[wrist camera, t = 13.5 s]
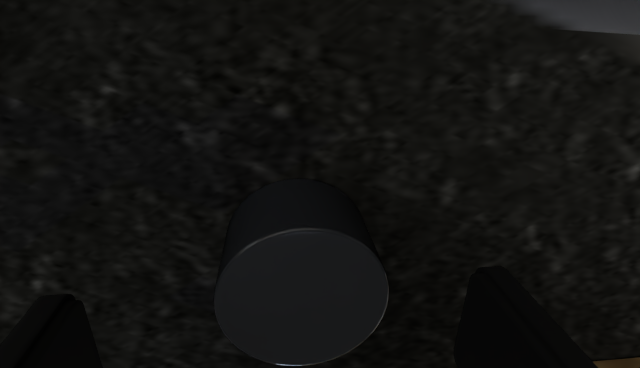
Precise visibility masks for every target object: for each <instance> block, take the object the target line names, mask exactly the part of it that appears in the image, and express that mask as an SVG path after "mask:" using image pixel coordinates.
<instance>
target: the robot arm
mask: <svg viewBox="0 0 640 368" xmlns="http://www.w3.org/2000/svg"><path fill="white" fill-rule="evenodd" d="M454 358H455V362H456V364H457V366H458V368H598V367H597V366H596V365H595V364H594V363H593V361H592V360H591V359H590V358H589V357H588V356H587V355H586V354H585V353H584V352H583V351H582V350H581V349H580V348H579V346H578V345H577V344H576V343H575V342H574V341H573V340H572V339H571V338H570V337H569V336H568V335H567V334H566V333H565V331H564V330H563V329H562V328H561V327H560V326H559V325H558V324H557V323H556V322H555V321H554V320H553V319H552V318H551V316H550V315H549V314H548V313H547V312H546V311H545V310H544V309H543V308H542V307H541V306H540V305H539V304H538V303H537V301H536V300H535V299H534V298H533V297H532V296H531V295H530V294H529V293H528V292H527V291H526V290H525V289H524V288H523V286H522V285H521V284H520V283H519V282H518V281H517V280H516V279H515V278H514V277H513V276H512V275H511V274H510V273H509V271H508V270H507V269H505V268H504V267H502V266H494V267H481V268H478V269H477V270H476V273H475V274H472V275H471V277H470V280H469V285H468V289H467V293H466V298H465V302H464V307H463V311H462V315H461V320H460V324H459V329H458V333H457V338H456V342H455V346H454ZM0 368H103V367H102V364H101V361H100V357H99V354H98V351H97V348H96V344H95V341H94V338H93V334H92V331H91V328H90V324H89V321H88V318H87V315H86V311H85V308H84V305H83V303H82V301H81V300H75V297H74V296H73V295H71V294H64V295H48V296H42V297H39V298H38V299H37V300H36V301H35V303H34V304H33V305H32V306H31V308H30V309H29V310H28V311H27V313H26V314H25V315H24V316H23V318H22V319H21V320H20V321H19V323H18V324H17V325H16V326H15V327H14V329H13V330H12V331H11V332H10V334H9V335H8V336H7V337H6V339H5V340H4V341H3V342H2V344H1V345H0Z"/></svg>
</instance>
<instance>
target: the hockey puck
mask: <svg viewBox="0 0 640 368" xmlns="http://www.w3.org/2000/svg"><path fill="white" fill-rule="evenodd" d="M388 298H389V284H388V278H387V274H386V271H385V269H384V266H383V264H382V262H381V259H380V257H379V255H378V252H377V250H376V248H375V245H374V243H373V241H372V239H371V236H370V234H369V232H368V229H367V227H366V225H365V222H364V220H363V218H362V216H361V213H360V211H359V209H358V208H357V207H356V205H355V204H354V202H353V201H352V200H351V199H350V198H349V197H348V196H347V195H345V194H344V193H343V192H342V191H340V190H338V189H337V188H335V187H333V186H331V185H328V184H326V183H323V182H320V181H316V180H310V179H287V180H282V181H278V182H275V183H272V184H269V185H266V186H264V187H262V188H260V189H258V190H257V191H255V192H254V193H252V194H251V195H250V196H248V197H247V198H246V199H245V200H244V201H243V202H242V203H241V204H240V205H239V206H238V208H237V209H236V211H235V212H234V214H233V216H232V218H231V220H230V222H229V225H228V229H227V233H226V238H225V242H224V247H223V252H222V257H221V261H220V266H219V271H218V276H217V280H216V285H215V290H214V298H213V301H214V311H215V316H216V319H217V321H218V324H219V326H220V328H221V330H222V332H223V333H224V335H225V336H226V337H227V338H228V340H229V341H230V342H231V343H232V344H233V345H235V346H236V347H237V348H238V349H240V350H241V351H242V352H244V353H246V354H247V355H249V356H251V357H253V358H256V359H258V360H261V361H264V362H268V363H271V364H277V365H284V366H305V365H313V364H318V363H322V362H326V361H329V360H332V359H335V358H337V357H339V356H342V355H344V354H346V353H347V352H349V351H351V350H353V349H354V348H356V347H357V346H359V345H360V344H361V343H362V342H363V341H365V340H366V339H367V338H368V337H369V336H370V335H371V334H372V333H373V331H374V330H375V329H376V327H377V326H378V325H379V323H380V321H381V319H382V318H383V316H384V313H385V310H386V308H387V303H388Z"/></svg>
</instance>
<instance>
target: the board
mask: <svg viewBox="0 0 640 368" xmlns="http://www.w3.org/2000/svg"><path fill="white" fill-rule="evenodd" d="M593 363H594V364H595V365H596V366H597V367H598V368H640V357H638V358H626V359H615V360H603V361H593Z"/></svg>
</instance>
